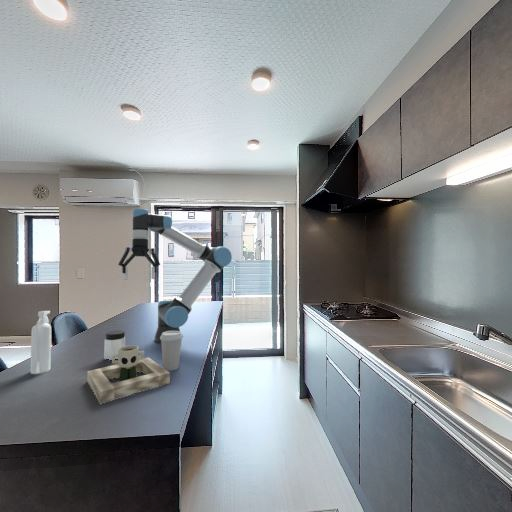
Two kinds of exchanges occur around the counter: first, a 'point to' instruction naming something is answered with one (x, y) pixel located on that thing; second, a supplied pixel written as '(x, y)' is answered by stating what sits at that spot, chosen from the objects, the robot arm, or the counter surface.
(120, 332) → the jar
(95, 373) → the well block
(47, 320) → the white pump bottle
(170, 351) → the coffee cup
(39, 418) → the counter surface
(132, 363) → the character mug
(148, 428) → the counter surface
